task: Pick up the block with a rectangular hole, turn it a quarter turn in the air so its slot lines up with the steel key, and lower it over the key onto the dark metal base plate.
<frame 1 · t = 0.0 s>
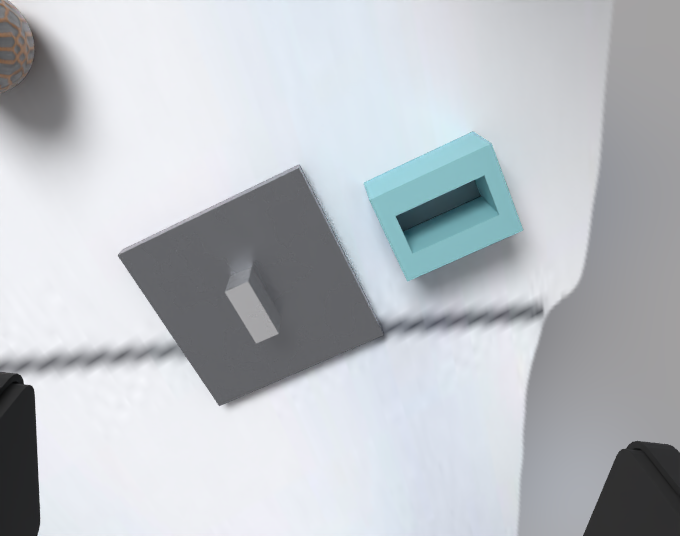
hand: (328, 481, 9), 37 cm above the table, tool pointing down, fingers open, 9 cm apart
key base: (257, 290, 49), on the table
vase: (0, 39, 41), on the table
block with rectangular hole: (434, 196, 46), on the table
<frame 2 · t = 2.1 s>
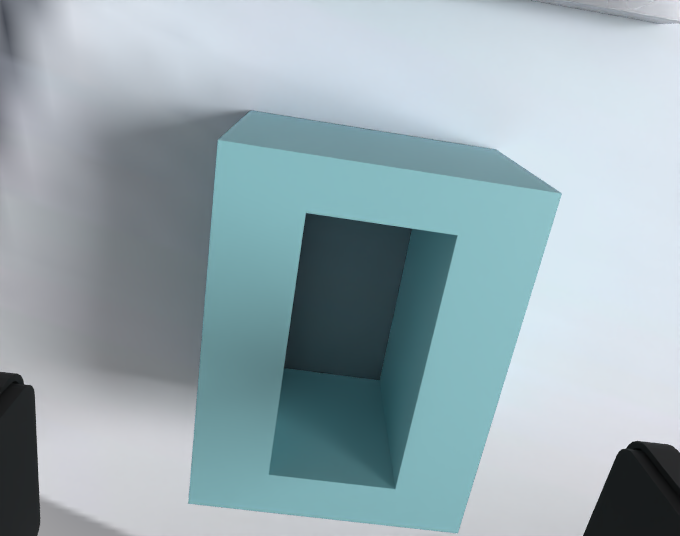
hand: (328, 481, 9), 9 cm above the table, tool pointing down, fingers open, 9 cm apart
block with rectangular hole: (348, 280, 18), on the table
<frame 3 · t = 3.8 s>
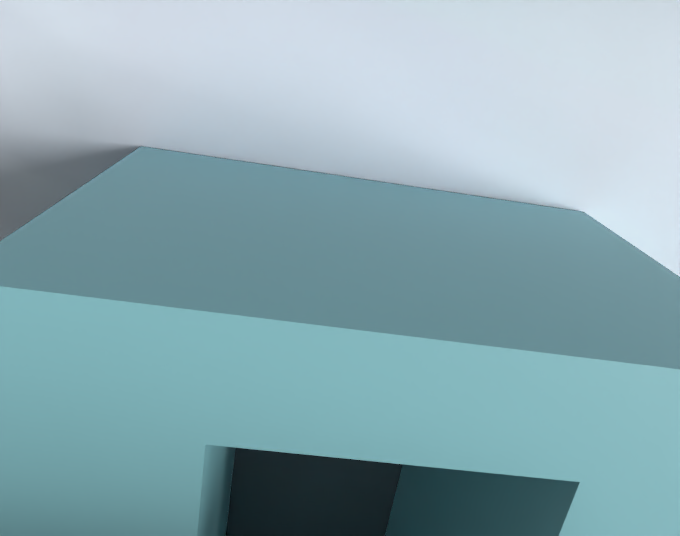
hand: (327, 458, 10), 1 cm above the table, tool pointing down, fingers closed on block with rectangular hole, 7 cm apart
block with rectangular hole: (326, 421, 11), on the table, touching gripper
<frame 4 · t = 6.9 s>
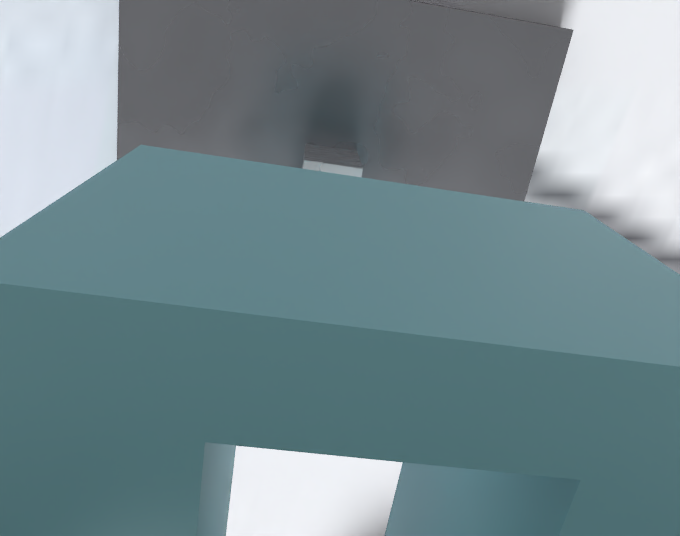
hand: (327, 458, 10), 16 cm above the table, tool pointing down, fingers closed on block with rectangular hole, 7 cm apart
key base: (321, 201, 24), on the table
block with rectangular hole: (326, 420, 11), point 15 cm above the table, touching gripper
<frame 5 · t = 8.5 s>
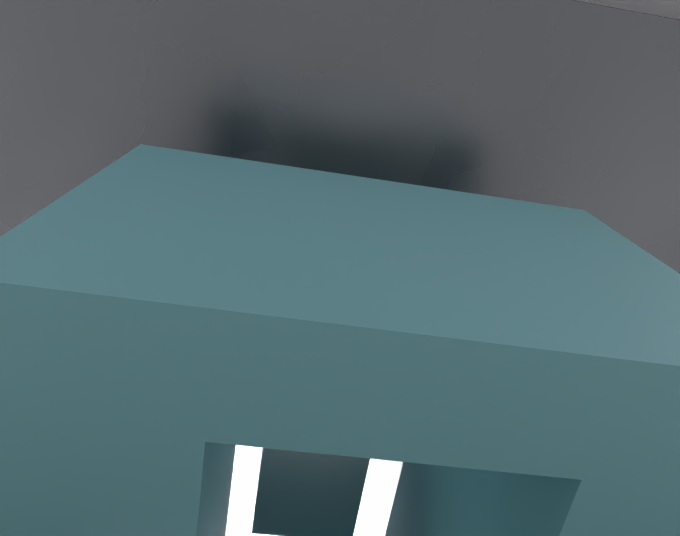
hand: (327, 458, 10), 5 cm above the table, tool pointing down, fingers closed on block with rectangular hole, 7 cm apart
key base: (318, 326, 14), on the table
block with rectangular hole: (326, 420, 11), point 4 cm above the table, touching gripper
when the fingers open (3 cm above the table, at t = 10.1 s): block with rectangular hole stays where it is, resting on key base.
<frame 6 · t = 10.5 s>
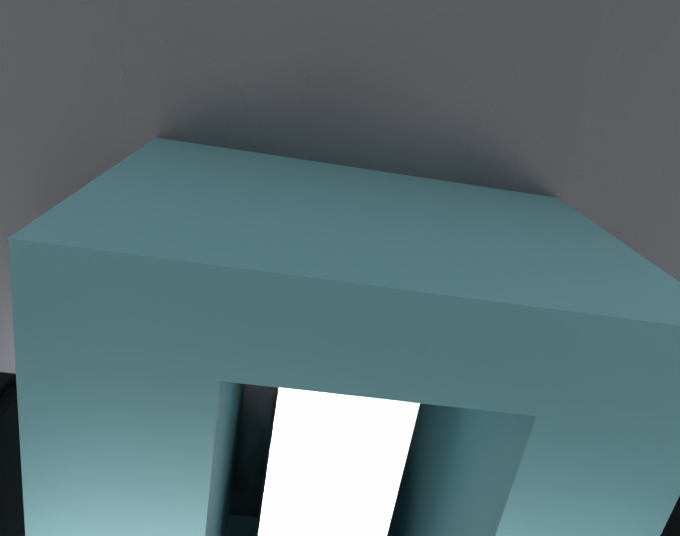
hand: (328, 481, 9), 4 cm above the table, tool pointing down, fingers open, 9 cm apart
key base: (324, 360, 13), on the table
block with rectangular hole: (324, 393, 12), point 1 cm above the table, touching key base
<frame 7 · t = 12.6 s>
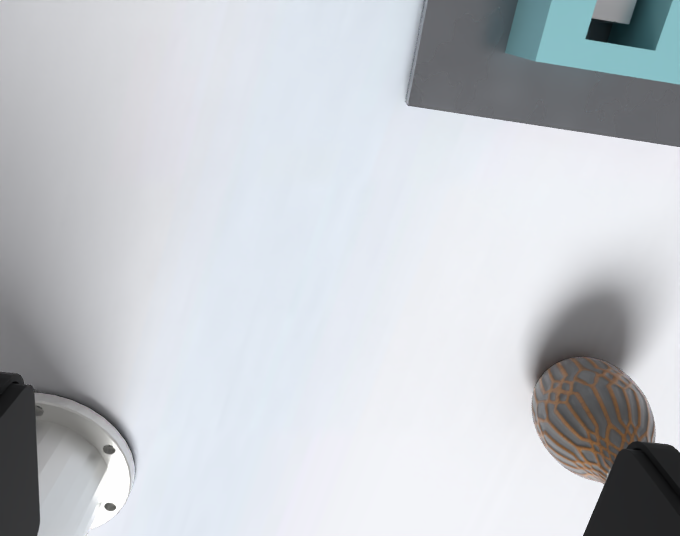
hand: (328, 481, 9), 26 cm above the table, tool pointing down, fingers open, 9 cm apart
vase: (568, 381, 40), on the table
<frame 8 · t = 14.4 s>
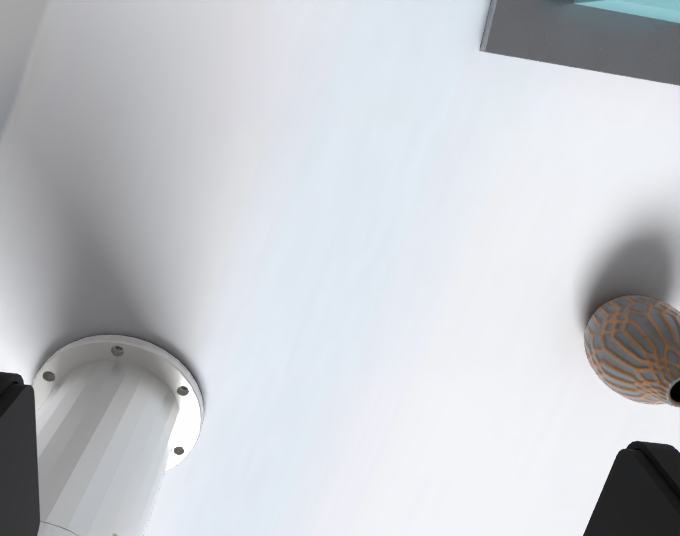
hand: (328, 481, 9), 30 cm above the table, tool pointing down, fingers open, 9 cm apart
vase: (615, 322, 44), on the table
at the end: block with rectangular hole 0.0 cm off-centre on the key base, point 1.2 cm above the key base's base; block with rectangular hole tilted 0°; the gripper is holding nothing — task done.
